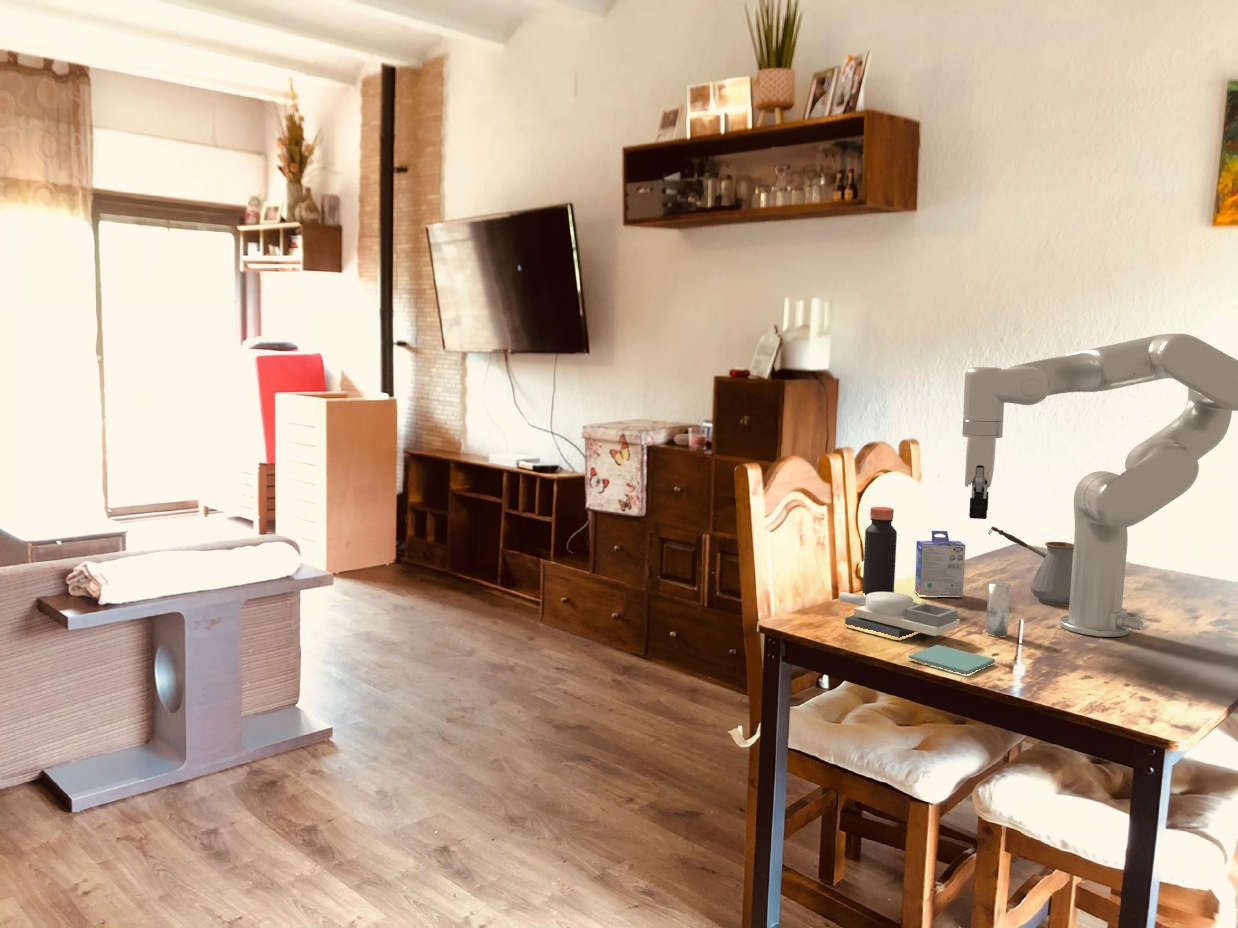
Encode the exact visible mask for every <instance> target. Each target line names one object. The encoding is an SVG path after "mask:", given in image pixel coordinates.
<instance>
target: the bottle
mask: <svg viewBox="0 0 1238 928" xmlns="http://www.w3.org/2000/svg"><path fill="white" fill-rule="evenodd" d="M894 510H895V509H894V508H892V507H887V506H871V508H870V513H869V514H870V516H869V517H870V521H871V523H870V525H869V526H868V527H866V529H865V532H864V533H865V534H864V549H863V550H864V551H863V576H862V590H861V591H862V592H861V593H865V595H867V594H869V593H873V592H893V593H895V578H896V576H895V575H896V559H897V539H898V538H897V537H898V531H897V530H896V529H895V527H894V526H893V525H892V522H893V521H894V520H893V519H894V514H895V513H894Z"/></svg>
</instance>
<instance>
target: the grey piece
mask: <svg viewBox="0 0 1238 928" xmlns="http://www.w3.org/2000/svg"><path fill="white" fill-rule="evenodd" d="M987 588H988V589H987V590H988V591H987V601H986V602H987V605H986V619H985V622H986V623H985V633H986V632H987V633H988V634H991V635H995V636H1007V637H1008V631H1009V616H1010V615H1009V614H1010V601H1011V588H1012V586H1011V584H1010V583H1007V582H1001V581H991V582H988V587H987Z"/></svg>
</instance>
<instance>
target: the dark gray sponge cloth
mask: <svg viewBox="0 0 1238 928" xmlns="http://www.w3.org/2000/svg"><path fill="white" fill-rule="evenodd" d="M844 620H845V621H844V625H845V624H847V625H853V626H855V627H860V628H863V629H868V630H873V631H876V632H881V633H884V634H888V635H891V636H895V637H898V638H900V637H902V636H906V635H909V634H912V633H914V632H917V631H913V630H908V629H904V628H900V627H896V626H892V625H888V624H884V623H880V622H876V621H872V620H868V619H864V618H860V617H856V616H854V614H853V615H850V616H846V617H845V619H844Z"/></svg>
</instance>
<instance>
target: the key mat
mask: <svg viewBox="0 0 1238 928" xmlns="http://www.w3.org/2000/svg"><path fill="white" fill-rule="evenodd" d="M909 658H911V659H915V660H917V661H921V662H923V663H927V664H929V665H934V666H936V667H941V668H943V669H947V670H951V671H953V672H959V673H961V674H966V675H967V674H970V673H972V672H975V671H976V670H979V669H982V668H984V667H987V666H988V665H991V664H993V663H995V662H996V659H995V658H991V657H989V656H985V655H980V654H976V653H973V652H972V653H971V652H969V651H964V650H961V649H956V648H952V647H949V646H945V645H941V644H936V645H933V646H930V647H928V648H926V649H922V650H920V651H918V652H915V653H912V654H910V655H908V659H909Z"/></svg>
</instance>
